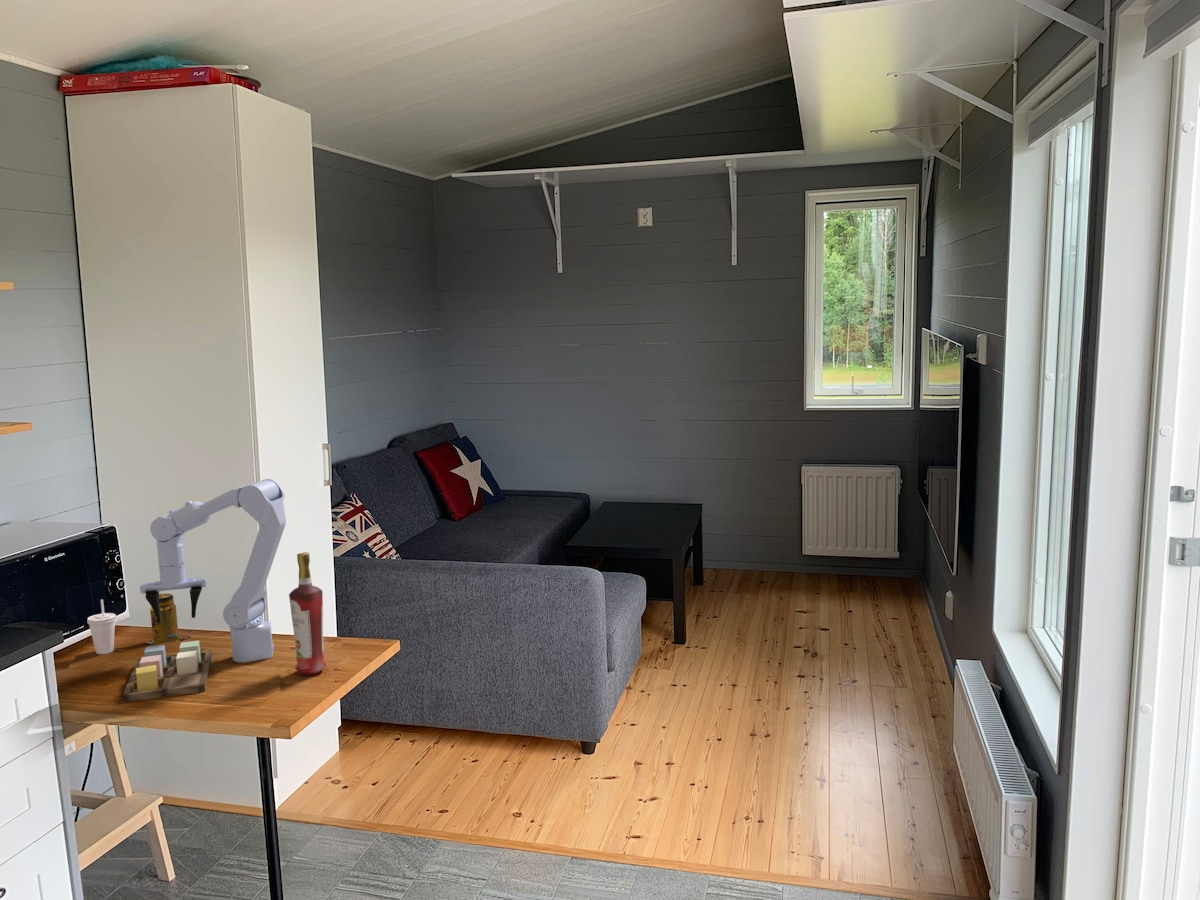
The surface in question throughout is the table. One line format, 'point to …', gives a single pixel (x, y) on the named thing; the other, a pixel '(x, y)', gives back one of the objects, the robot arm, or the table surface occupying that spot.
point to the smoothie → (102, 631)
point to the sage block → (191, 648)
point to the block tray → (171, 680)
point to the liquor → (307, 620)
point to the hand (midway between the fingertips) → (176, 618)
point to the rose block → (153, 663)
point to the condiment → (165, 621)
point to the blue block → (156, 652)
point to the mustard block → (147, 678)
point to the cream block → (187, 662)
